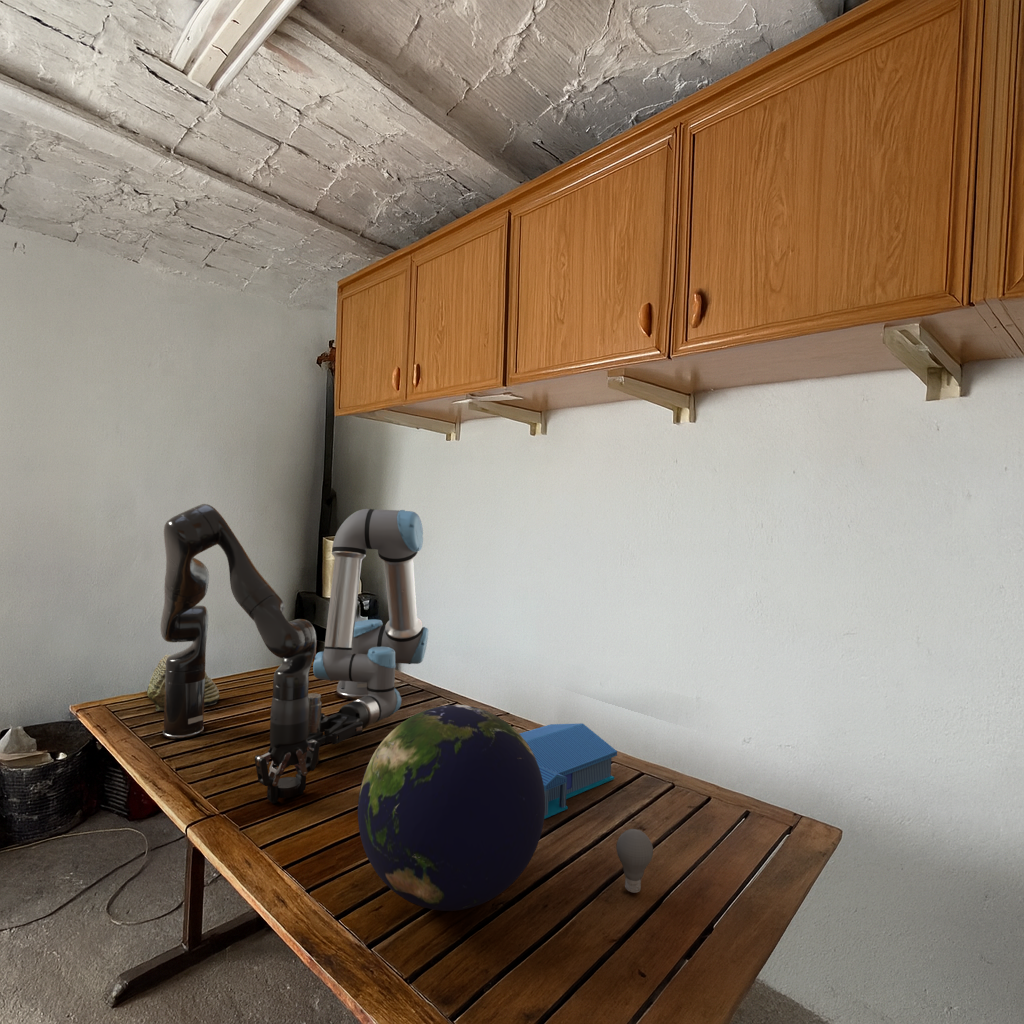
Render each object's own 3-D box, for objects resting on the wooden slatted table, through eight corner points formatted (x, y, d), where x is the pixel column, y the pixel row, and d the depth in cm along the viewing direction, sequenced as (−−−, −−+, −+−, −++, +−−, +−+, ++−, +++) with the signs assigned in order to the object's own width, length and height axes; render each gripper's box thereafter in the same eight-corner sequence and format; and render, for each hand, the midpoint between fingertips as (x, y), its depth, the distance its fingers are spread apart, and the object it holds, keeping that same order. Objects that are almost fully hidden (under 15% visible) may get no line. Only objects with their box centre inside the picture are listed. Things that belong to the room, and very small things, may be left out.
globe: (313, 921, 95) (320, 722, 94) (416, 828, 122) (422, 674, 122) (496, 988, 83) (506, 762, 83) (564, 869, 111) (572, 699, 110)
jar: (303, 768, 147) (307, 699, 147) (295, 762, 150) (299, 694, 150) (321, 764, 150) (325, 696, 150) (313, 757, 153) (317, 691, 153)
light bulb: (610, 879, 108) (613, 822, 108) (644, 879, 109) (647, 822, 109) (619, 902, 102) (622, 840, 102) (655, 901, 103) (658, 840, 103)
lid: (281, 785, 135) (282, 775, 135) (305, 788, 134) (305, 778, 134) (267, 796, 130) (267, 786, 130) (292, 799, 129) (292, 789, 129)
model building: (497, 839, 120) (500, 786, 120) (424, 791, 138) (425, 745, 138) (625, 783, 146) (627, 740, 146) (549, 749, 164) (551, 711, 164)
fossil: (144, 707, 182) (145, 655, 182) (212, 696, 194) (213, 647, 194) (151, 716, 175) (153, 662, 175) (221, 703, 188) (223, 653, 188)
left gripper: (266, 730, 124) (263, 816, 124) (329, 713, 135) (326, 792, 135) (247, 720, 129) (244, 803, 129) (310, 704, 140) (307, 781, 140)
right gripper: (385, 735, 163) (322, 769, 142) (330, 723, 170) (264, 753, 149) (386, 706, 163) (324, 735, 141) (331, 695, 170) (265, 721, 149)
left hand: (286, 797), depth 132 cm, fingers closed on lid, 5 cm apart
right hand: (293, 744), depth 145 cm, fingers closed on jar, 4 cm apart
